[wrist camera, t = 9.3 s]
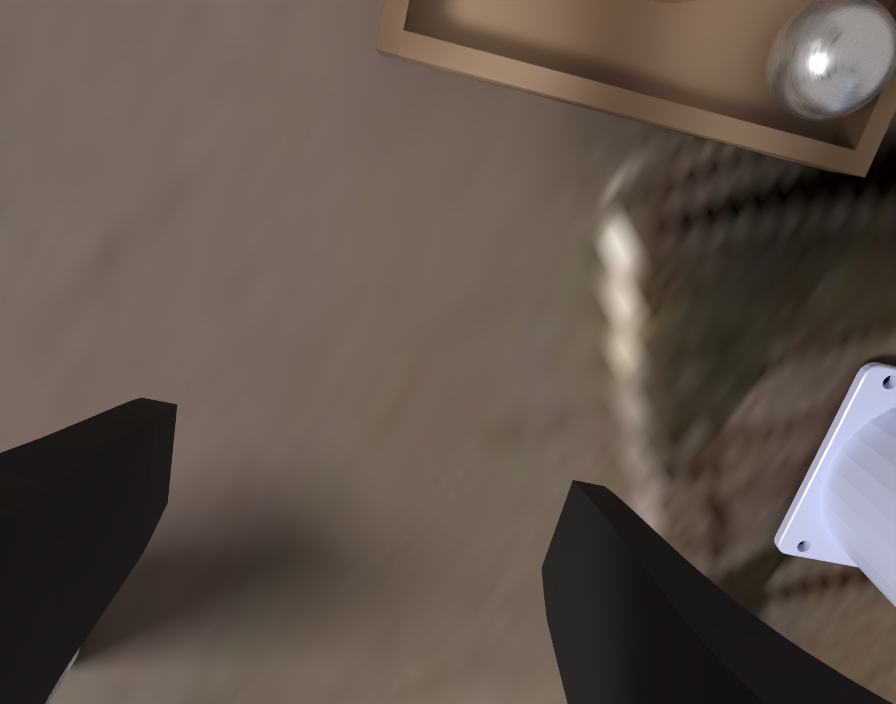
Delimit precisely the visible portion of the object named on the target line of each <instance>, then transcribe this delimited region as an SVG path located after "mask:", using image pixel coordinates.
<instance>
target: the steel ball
mask: <svg viewBox="0 0 896 704" xmlns="http://www.w3.org/2000/svg"><path fill="white" fill-rule="evenodd" d="M895 67H896V22H895V20H894V18H893V16H892V15H891V14H890V12H889V11H888V10H887V9H886V8H885V7H884V6H883V5H882V4H881V3H879V2H877V1H876V0H815V1H813V2H811V3H809V4H807V5H806V6H804V7H803V8H801V9H800V10H798V11H797V12H796V13H794V14H793V15H792V16H791V17H790V18H789V19H788V20H787V21H786V22H785V23H784V25H783V26H782V27H781V28H780V30H779V31H778V32H777V34H776V36H775V38H774V39H773V41H772V44H771V46H770V48H769V52H768V55H767V60H766V69H765V71H766V81H767V85H768V89H769V91H770V93H771V95H772V97H773V98H774V100H775V101H776V102H777V103H778V105H779V106H780V107H781V108H782V109H784V110H785V111H786V112H788V113H790V114H792V115H794V116H796V117H799V118H802V119H807V120H813V121H823V120H832V119H836V118H840V117H843V116H846V115H848V114H851V113H853V112H855V111H857V110H858V109H860V108H862V107H863V106H865V105H866V104H868V103H869V102H870V101H871V100H872V99H873V98H875V97H876V96H877V95H878V93H879V92H880V91H881V90H882V89H883V88H884V87H885V85H886V84H887V82H888V81H889V79H890V78H891V76H892V74H893V72H894V69H895Z"/></svg>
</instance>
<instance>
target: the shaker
mask: <svg viewBox="0 0 896 704" xmlns="http://www.w3.org/2000/svg"><path fill="white" fill-rule="evenodd" d="M653 1H657V2H662V3H684V2H689V1H693V0H653Z"/></svg>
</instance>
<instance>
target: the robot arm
mask: <svg viewBox="0 0 896 704" xmlns="http://www.w3.org/2000/svg"><path fill="white" fill-rule="evenodd" d="M890 375H891V376H890ZM888 376H890V379H889V381H888V382H887V383H885V384H883V381H884V379H885V378H886V377H888ZM176 412H177V404H172V403H167V402H162V401H156V400H151V399H146V398H139V399H135V400H132V401H130V402H127V403H124V404H122V405H119V406H117V407H115V408H112V409H110V410H107V411H105V412H103V413H100V414H98V415H95V416H93V417H91V418H88V419H86V420H84V421H81V422H79V423H76V424H74V425H72V426H69V427H67V428H64V429H62V430H59V431H57V432H55V433H52V434H50V435H47V436H45V437H42V438H40V439H37V440H34V441H32V442H29V443H26V444H23V445H21V446H18V447H15V448H12V449H10V450H7V451H4V452H2V453H0V704H45V703H46V702H47V700H48V698H49V696H50V694H51V692H52V691H53V689H54V687H55V686H56V684H57V682H58V681H59V679H60V677H61V676H62V674H63V673H64V671H65V669H66V668H67V666H68V664H69V663H70V661H71V660H72V658H73V657H74V655H75V654H76V653H77V651H78V650H79V648H80V647H81V645H82V644H83V642H84V641H85V639H86V638H87V636H88V635H89V633H90V632H91V630H92V629H93V627H94V626H95V624H96V623H97V621H98V620H99V618H100V617H101V615H102V614H103V612H104V611H105V609H106V608H107V606H108V605H109V604H110V602H111V601H112V599H113V598H114V596H115V595H116V593H117V592H118V590H119V589H120V587H121V586H122V584H123V583H124V581H125V580H126V578H127V577H128V575H129V574H130V572H131V571H132V569H133V568H134V566H135V564H136V563H137V561H138V560H139V558H140V557H141V555H142V554H143V552H144V550H145V548H146V546H147V544H148V542H149V540H150V538H151V536H152V534H153V532H154V530H155V528H156V526H157V524H158V522H159V520H160V518H161V516H162V514H163V512H164V509H165V507H166V505H167V503H168V494H169V483H170V473H171V463H172V453H173V442H174V432H175V422H176ZM774 541H775V545H776V546H777V547H778V548H779V550H780V551H781V552H783V553H785V554H789V555H795V556H800V557H806V558H811V559H817V560H822V561H827V562H833V563H838V564H844V565H849V566H854V567H859V568H860V569H861V570H862V571H863V572H864V573H865V574H866V576H867V577H868V578H869V579H870V580H871V581H872V582H873V583H874V584H875V585H876V586H877V587H878V589H879V590H880V591H881V592H882V593H883V594H884V595H885V596H886V597H887V598H888V599H889V600H890V602H891V603H892V604H893V605H894V606H895V607H896V366H891V365H887V364H882V363H878V362H871V363H868V364H866V365H864V366H863V367H862V368H861V369H860V370H859V372H858V373H857V375H856V377H855V379H854V381H853V383H852V385H851V387H850V389H849V391H848V393H847V395H846V397H845V399H844V401H843V403H842V405H841V407H840V409H839V411H838V413H837V415H836V417H835V419H834V421H833V423H832V425H831V427H830V429H829V431H828V433H827V435H826V437H825V439H824V441H823V443H822V445H821V447H820V449H819V451H818V453H817V455H816V457H815V459H814V461H813V462H812V464H811V466H810V468H809V470H808V472H807V474H806V476H805V478H804V480H803V482H802V484H801V486H800V488H799V490H798V492H797V494H796V496H795V498H794V500H793V502H792V504H791V506H790V508H789V510H788V512H787V514H786V516H785V518H784V520H783V522H782V524H781V526H780V528H779V530H778V532H777V534H776V536H775V539H774ZM802 541H804V542H803V544H801V545H798V544H799V543H800V542H802ZM542 577H543V589H544V599H545V607H546V616H547V621H548V626H549V630H550V634H551V638H552V643H553V647H554V651H555V655H556V659H557V663H558V667H559V671H560V675H561V679H562V683H563V687H564V691H565V695H566V699H567V703H568V704H892V703H891V702H889V701H887V700H885V699H883V698H881V697H880V696H878V695H876V694H874V693H873V692H871V691H869V690H868V689H866V688H864V687H862V686H861V685H859V684H857V683H855V682H854V681H852V680H850V679H849V678H847V677H845V676H844V675H842V674H841V673H839V672H837V671H836V670H834V669H833V668H831V667H829V666H828V665H826V664H825V663H823V662H821V661H820V660H818V659H817V658H815V657H814V656H812V655H810V654H809V653H807V652H806V651H804V650H803V649H801V648H800V647H798V646H797V645H795V644H794V643H792V642H791V641H789V640H788V639H786V638H785V637H783V636H782V635H781V634H779V633H778V632H776V631H775V630H774V629H772V628H771V627H770V626H768V625H767V624H765V623H764V622H763V621H761V620H760V619H759V618H757V617H756V616H754V615H753V614H752V613H750V612H749V611H748V610H746V609H745V608H744V607H742V606H741V605H740V604H738V603H737V602H736V601H735V600H733V599H732V598H731V597H730V596H728V595H727V594H726V593H725V592H724V591H722V590H721V589H720V588H719V587H718V586H716V585H715V584H714V583H713V582H712V581H710V580H709V579H708V578H707V577H706V576H704V575H703V574H702V573H701V572H700V571H698V570H697V569H696V568H695V567H694V566H693V565H692V564H690V563H689V562H688V561H687V560H686V559H685V558H684V557H683V556H681V555H680V554H679V553H678V552H677V551H676V550H675V549H674V548H673V547H672V546H670V545H669V544H668V543H667V542H666V541H665V540H664V539H663V538H662V537H661V536H660V535H659V534H658V533H656V532H655V531H654V530H653V529H652V528H651V527H650V526H649V525H648V524H647V523H646V522H645V521H644V520H643V519H642V518H640V517H639V516H638V515H637V514H636V513H635V512H634V511H633V510H632V509H631V508H630V507H629V506H627V505H626V504H625V503H624V502H623V501H622V500H621V499H620V498H618V497H617V496H616V495H615V494H614V493H613V492H611V491H610V490H609V489H607V488H606V487H605V486H601V485H596V484H590V483H585V482H580V481H575V480H573V481H572V484H571V487H570V490H569V493H568V495H567V498H566V501H565V504H564V507H563V510H562V512H561V515H560V518H559V521H558V524H557V526H556V529H555V532H554V535H553V538H552V540H551V543H550V546H549V549H548V552H547V554H546V557H545V560H544V563H543V566H542Z"/></svg>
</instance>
